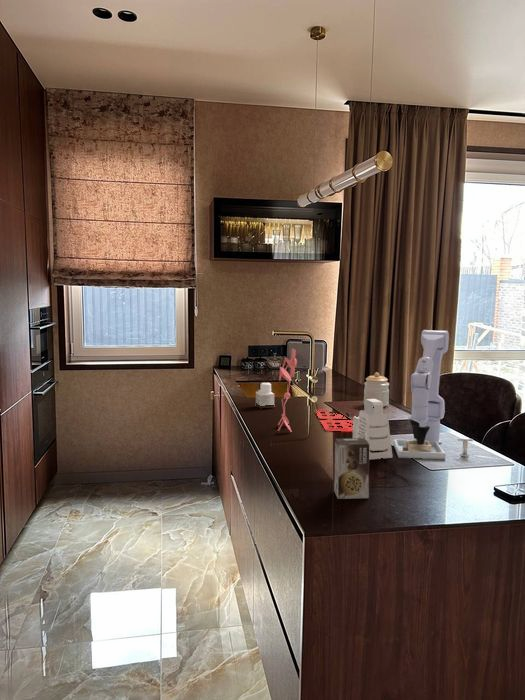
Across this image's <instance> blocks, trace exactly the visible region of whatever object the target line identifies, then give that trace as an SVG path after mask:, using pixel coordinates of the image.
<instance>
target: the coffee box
mask: <svg viewBox="0 0 525 700" xmlns="http://www.w3.org/2000/svg"><path fill="white" fill-rule="evenodd" d="M333 487H334V493H335V496H336V498H337V499H338V500H347V499H349V500H351V499H353V500H354V499H369V498H370V491H369V490H370V460H369V443H368V442H367V440H366V439H365V438H353V437H352V438H349V437H345V438H344V437H343V438H335V439H334V486H333Z"/></svg>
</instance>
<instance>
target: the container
mask: <svg viewBox="0 0 525 700" xmlns="http://www.w3.org/2000/svg"><path fill="white" fill-rule="evenodd" d="M256 403H257V404H258V405H260V406H265V405H274V406H275V393H273V392H272V383H271V382H269V381H261V382H259V383H258V391H255V404H256Z"/></svg>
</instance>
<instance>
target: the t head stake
mask: <svg viewBox="0 0 525 700" xmlns="http://www.w3.org/2000/svg"><path fill="white" fill-rule="evenodd" d="M457 441H458V442H462V453H461V452H460V454H459V455H461V456H460V457H462V456H465V457H464V458H469V457H470V454H468V444H469V443H468V442H474V439H473V438H457ZM468 456H469V457H468Z"/></svg>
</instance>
